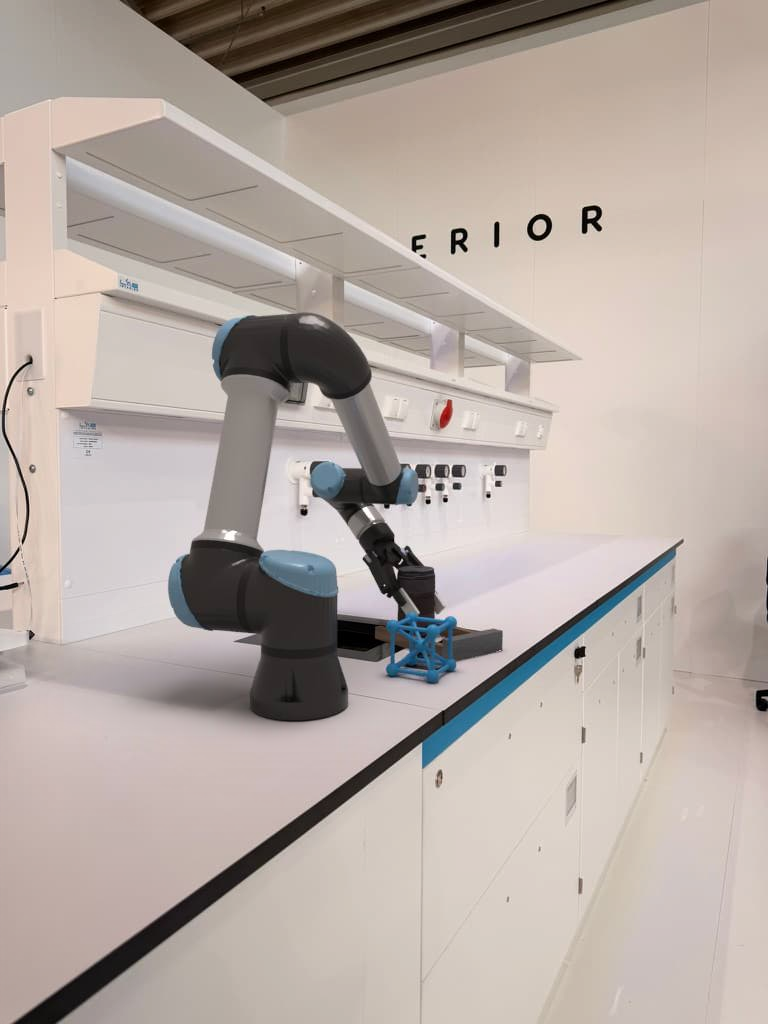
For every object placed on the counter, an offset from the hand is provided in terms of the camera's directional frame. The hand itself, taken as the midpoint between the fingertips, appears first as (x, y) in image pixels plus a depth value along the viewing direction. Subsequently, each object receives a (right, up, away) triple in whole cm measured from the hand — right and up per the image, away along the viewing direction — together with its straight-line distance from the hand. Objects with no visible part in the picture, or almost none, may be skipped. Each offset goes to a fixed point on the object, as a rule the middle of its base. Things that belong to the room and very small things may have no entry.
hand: (428, 613), depth 153 cm
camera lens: (-3, -6, +3) cm, 7 cm away
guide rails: (+1, -6, -1) cm, 6 cm away
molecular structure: (-3, -8, -23) cm, 24 cm away
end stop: (+8, -7, -11) cm, 15 cm away
